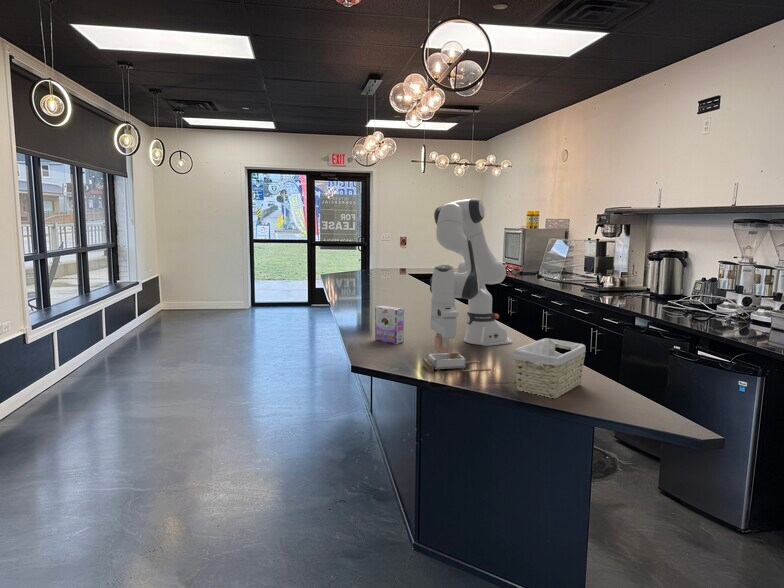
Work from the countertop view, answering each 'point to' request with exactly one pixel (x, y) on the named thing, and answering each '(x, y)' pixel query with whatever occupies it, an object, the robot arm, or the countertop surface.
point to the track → (431, 369)
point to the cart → (446, 361)
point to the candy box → (389, 324)
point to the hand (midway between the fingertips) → (441, 345)
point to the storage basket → (549, 367)
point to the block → (438, 344)
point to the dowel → (453, 355)
